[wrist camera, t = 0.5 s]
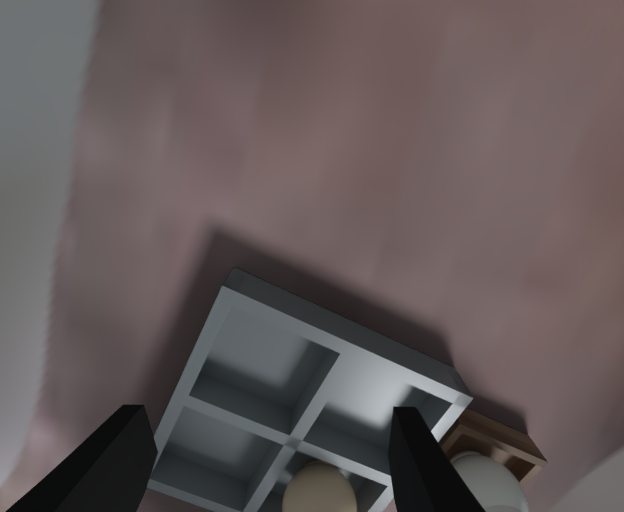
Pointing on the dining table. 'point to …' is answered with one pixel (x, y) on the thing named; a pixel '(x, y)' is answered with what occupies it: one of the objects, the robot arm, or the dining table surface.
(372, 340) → the egg tray
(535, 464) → the brown square tray
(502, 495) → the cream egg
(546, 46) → the dining table surface
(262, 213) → the dining table surface
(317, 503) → the brown egg
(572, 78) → the dining table surface
